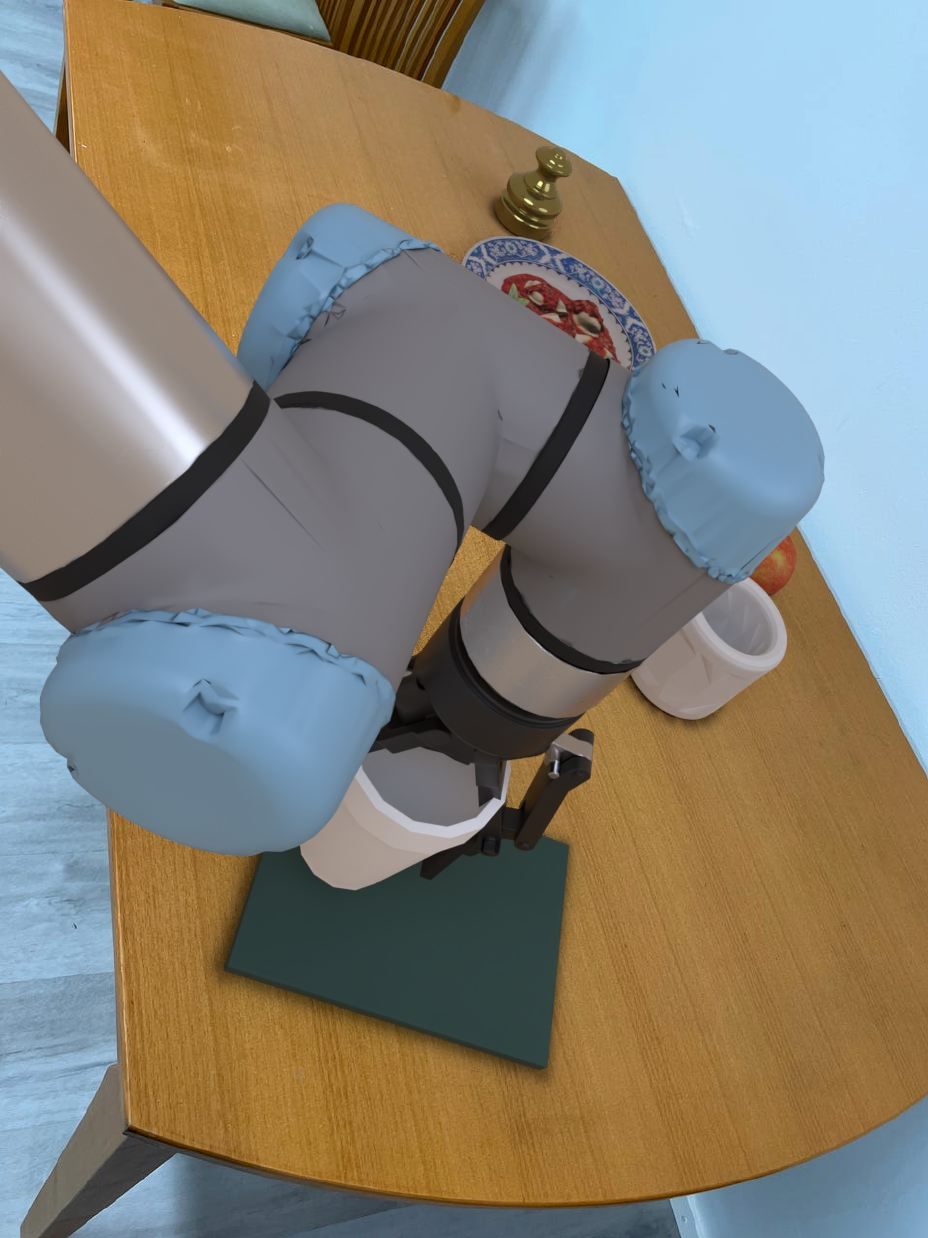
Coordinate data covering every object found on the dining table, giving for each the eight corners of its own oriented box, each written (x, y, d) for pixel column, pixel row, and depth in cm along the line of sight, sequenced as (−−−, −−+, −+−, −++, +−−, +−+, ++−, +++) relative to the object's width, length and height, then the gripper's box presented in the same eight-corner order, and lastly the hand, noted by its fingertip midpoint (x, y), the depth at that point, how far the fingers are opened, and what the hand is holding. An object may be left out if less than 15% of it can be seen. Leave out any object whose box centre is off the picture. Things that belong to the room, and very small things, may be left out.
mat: (223, 970, 59) (227, 966, 58) (294, 747, 69) (298, 741, 68) (540, 1070, 64) (547, 1068, 63) (562, 849, 74) (569, 845, 73)
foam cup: (428, 908, 61) (528, 833, 51) (285, 923, 56) (364, 844, 47) (400, 768, 65) (487, 674, 56) (266, 771, 61) (334, 670, 51)
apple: (714, 534, 105) (763, 487, 99) (771, 589, 104) (824, 545, 98) (683, 566, 99) (733, 519, 93) (743, 624, 98) (797, 581, 92)
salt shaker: (484, 197, 121) (522, 125, 114) (531, 205, 125) (570, 136, 118) (507, 239, 118) (548, 167, 111) (554, 245, 122) (597, 176, 115)
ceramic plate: (645, 310, 124) (659, 292, 121) (651, 448, 108) (666, 430, 106) (463, 219, 116) (474, 198, 114) (441, 353, 100) (453, 331, 98)
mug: (690, 618, 95) (756, 560, 88) (736, 717, 91) (810, 664, 83) (580, 623, 88) (643, 560, 81) (624, 730, 84) (694, 674, 76)
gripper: (733, 672, 48) (520, 836, 65) (322, 486, 43) (204, 716, 59) (736, 806, 43) (505, 946, 60) (273, 615, 38) (160, 826, 55)
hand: (355, 831), depth 60 cm, fingers closed on foam cup, 9 cm apart
